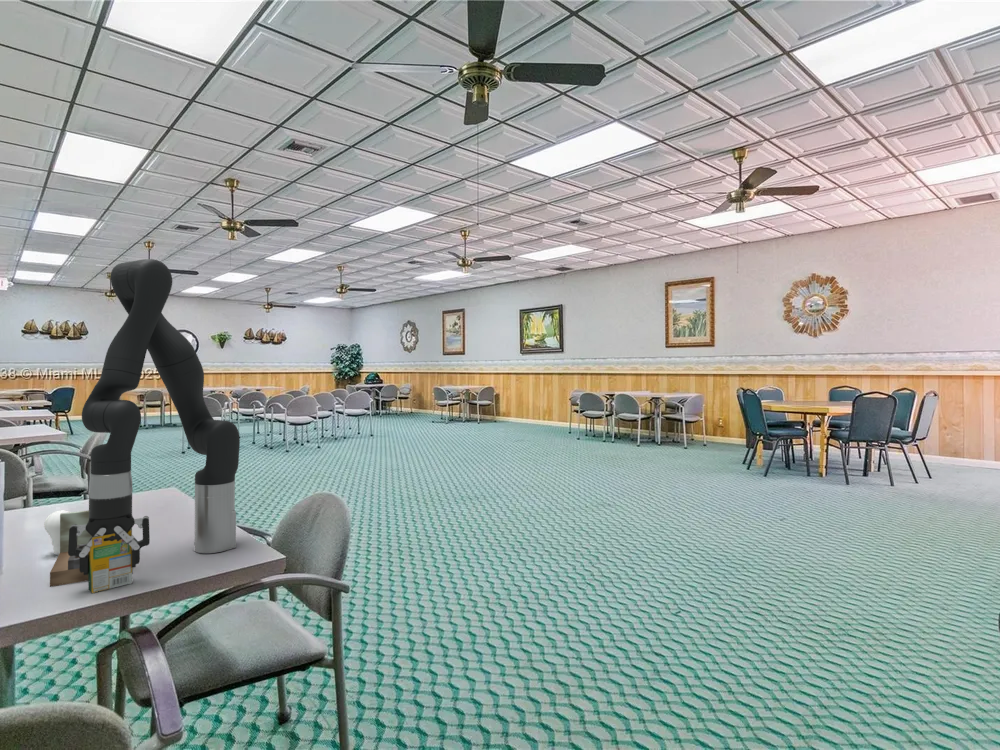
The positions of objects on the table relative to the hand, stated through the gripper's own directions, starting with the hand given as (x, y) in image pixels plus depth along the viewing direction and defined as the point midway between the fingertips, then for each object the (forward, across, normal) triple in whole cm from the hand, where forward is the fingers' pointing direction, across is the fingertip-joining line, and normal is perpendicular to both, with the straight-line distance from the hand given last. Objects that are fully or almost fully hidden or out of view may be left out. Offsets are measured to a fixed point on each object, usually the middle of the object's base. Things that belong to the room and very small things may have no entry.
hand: (110, 570), depth 116 cm
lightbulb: (+4, +12, -31) cm, 33 cm away
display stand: (+4, +4, -15) cm, 15 cm away
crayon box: (+4, 0, 0) cm, 4 cm away
